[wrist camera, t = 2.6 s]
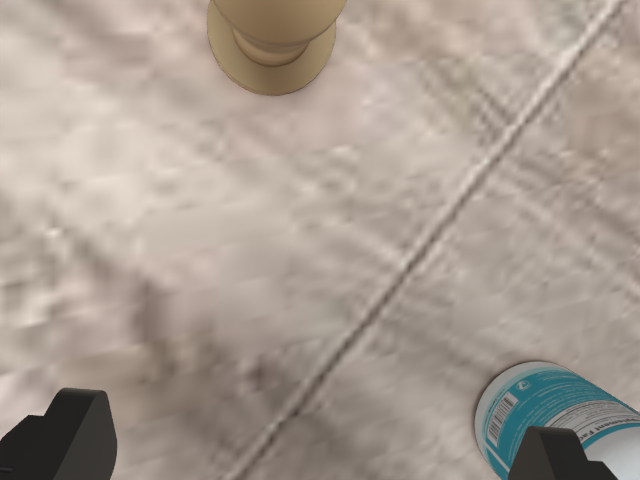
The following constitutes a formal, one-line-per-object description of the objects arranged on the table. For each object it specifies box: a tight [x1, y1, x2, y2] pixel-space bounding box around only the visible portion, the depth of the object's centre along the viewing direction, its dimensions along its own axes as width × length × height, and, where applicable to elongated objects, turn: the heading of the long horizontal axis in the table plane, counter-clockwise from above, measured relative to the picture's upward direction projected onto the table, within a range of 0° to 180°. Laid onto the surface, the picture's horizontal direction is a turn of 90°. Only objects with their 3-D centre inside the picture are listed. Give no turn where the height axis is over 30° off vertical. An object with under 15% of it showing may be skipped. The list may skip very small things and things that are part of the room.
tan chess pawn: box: [207, 0, 347, 96], centre depth 24 cm, size 6×6×10 cm
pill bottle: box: [475, 362, 640, 480], centre depth 27 cm, size 8×7×14 cm
